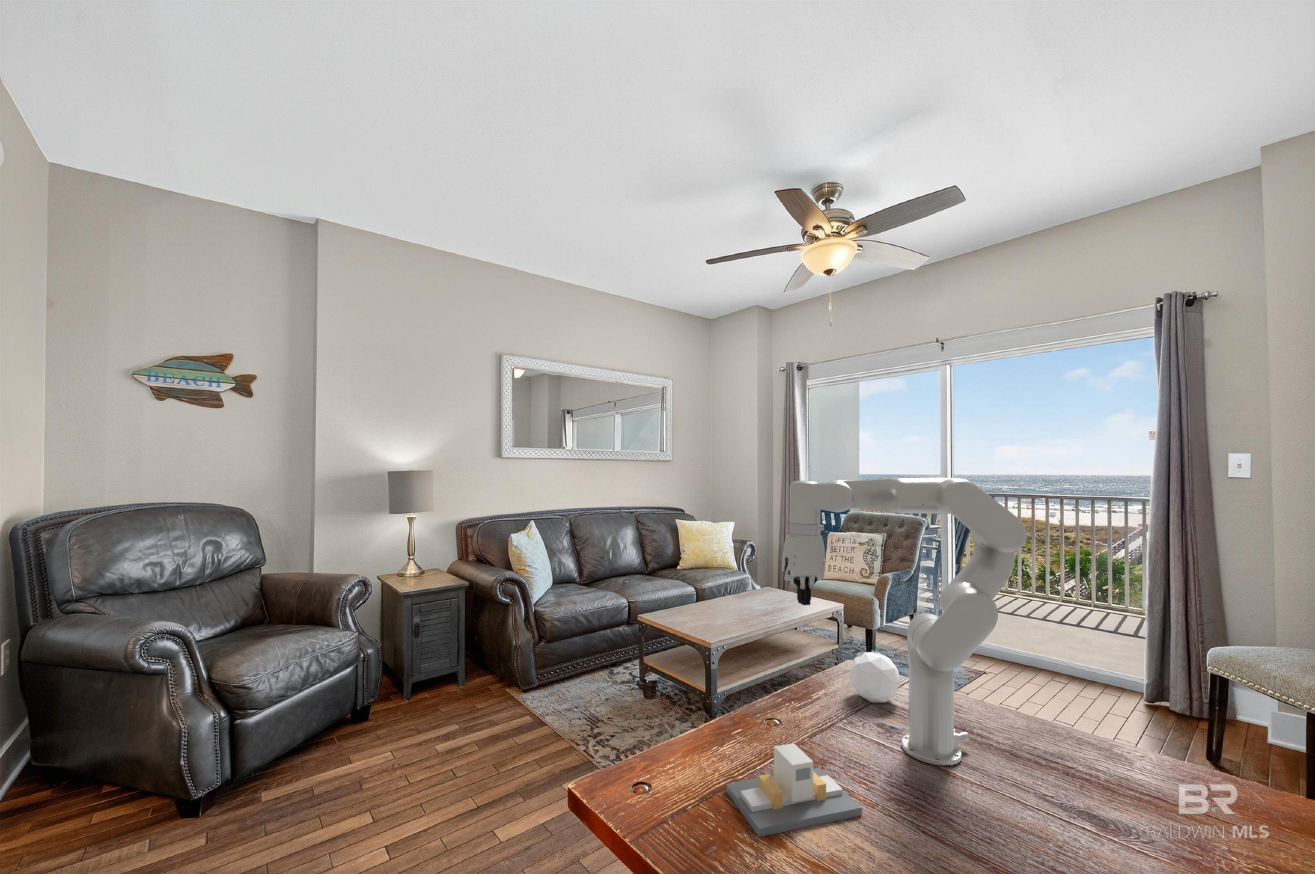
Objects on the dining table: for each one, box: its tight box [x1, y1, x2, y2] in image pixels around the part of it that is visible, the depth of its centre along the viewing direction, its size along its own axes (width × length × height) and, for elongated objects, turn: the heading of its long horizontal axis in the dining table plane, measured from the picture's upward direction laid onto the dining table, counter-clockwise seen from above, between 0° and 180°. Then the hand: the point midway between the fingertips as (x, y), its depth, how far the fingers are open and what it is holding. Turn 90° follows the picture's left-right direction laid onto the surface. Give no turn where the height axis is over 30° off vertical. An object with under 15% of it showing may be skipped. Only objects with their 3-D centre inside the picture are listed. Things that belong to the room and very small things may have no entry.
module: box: [773, 742, 814, 802], centre depth 108 cm, size 5×7×7 cm, turn 18°
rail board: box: [725, 767, 863, 838], centre depth 108 cm, size 22×14×4 cm, turn 107°
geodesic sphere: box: [849, 649, 901, 703], centre depth 156 cm, size 14×14×14 cm
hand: (804, 603), depth 136 cm, fingers closed
